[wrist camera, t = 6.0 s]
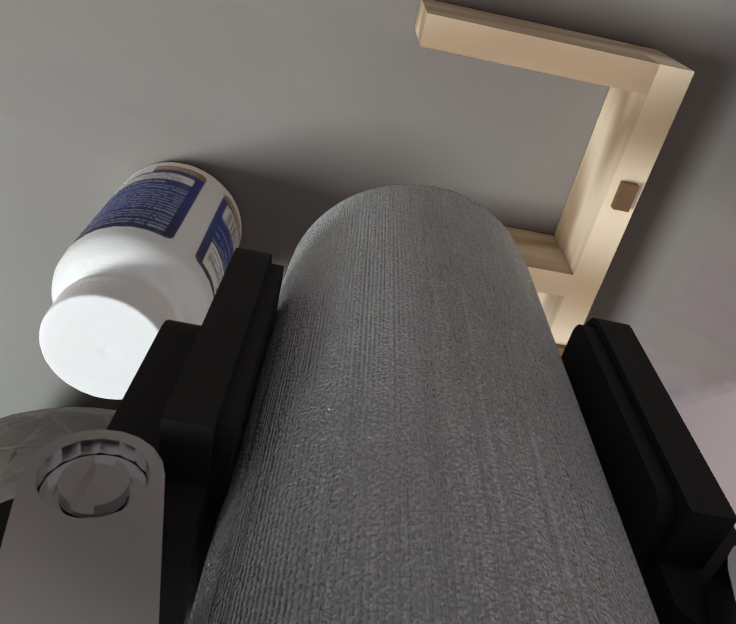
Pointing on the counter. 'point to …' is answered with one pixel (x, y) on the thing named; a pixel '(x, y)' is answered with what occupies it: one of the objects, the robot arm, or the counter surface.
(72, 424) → the bowl
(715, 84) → the counter surface
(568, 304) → the slot rack
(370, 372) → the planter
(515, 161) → the counter surface
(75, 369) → the pill bottle
